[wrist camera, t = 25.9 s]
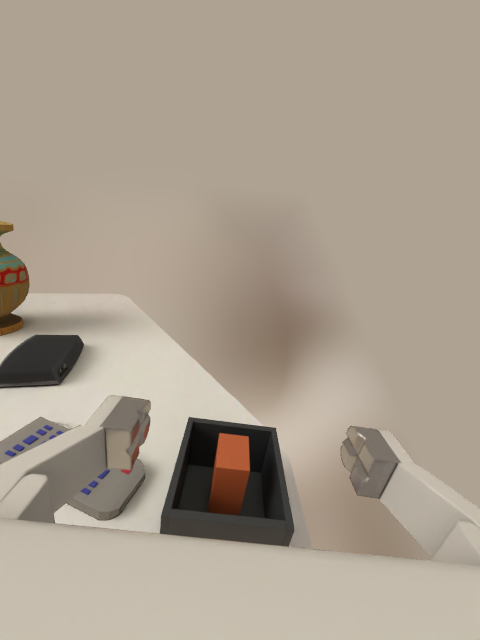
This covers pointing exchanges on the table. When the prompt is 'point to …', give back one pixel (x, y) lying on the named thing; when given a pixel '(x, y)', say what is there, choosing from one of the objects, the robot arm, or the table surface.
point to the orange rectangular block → (229, 474)
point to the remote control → (98, 496)
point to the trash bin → (259, 499)
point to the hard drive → (40, 360)
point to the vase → (11, 286)
